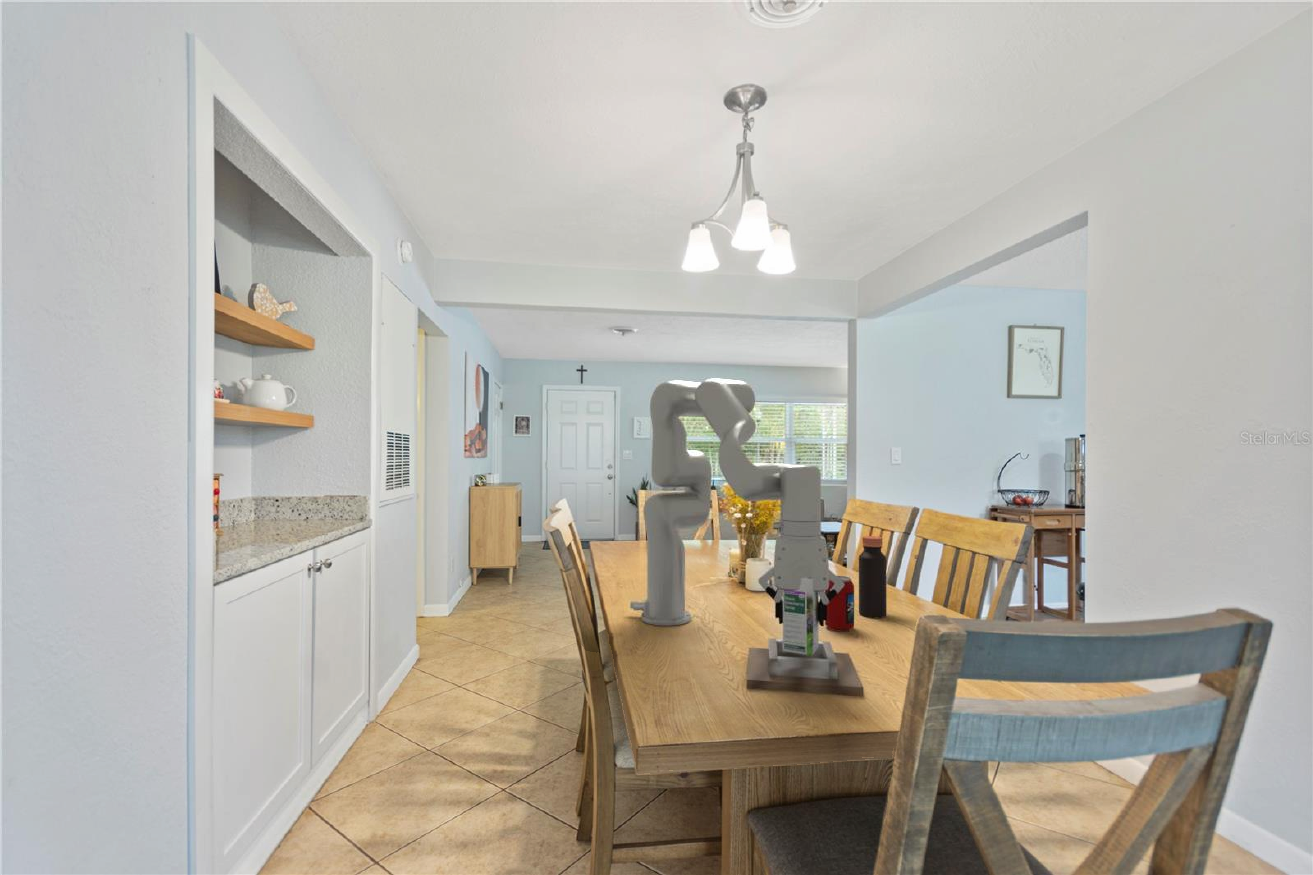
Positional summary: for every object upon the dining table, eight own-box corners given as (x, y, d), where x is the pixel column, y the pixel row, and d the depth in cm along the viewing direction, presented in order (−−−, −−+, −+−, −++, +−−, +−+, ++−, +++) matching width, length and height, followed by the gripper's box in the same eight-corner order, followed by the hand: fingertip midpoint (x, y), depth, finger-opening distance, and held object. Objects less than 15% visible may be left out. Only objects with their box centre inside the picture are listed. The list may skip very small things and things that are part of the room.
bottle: (889, 613, 159) (888, 536, 159) (883, 619, 153) (883, 540, 153) (862, 610, 162) (862, 534, 163) (855, 615, 157) (855, 537, 157)
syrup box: (781, 652, 115) (781, 574, 115) (790, 643, 120) (790, 569, 120) (812, 657, 112) (811, 578, 112) (819, 648, 117) (819, 572, 118)
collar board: (746, 688, 109) (746, 662, 109) (748, 654, 126) (748, 633, 127) (863, 696, 105) (863, 670, 105) (848, 660, 123) (848, 638, 123)
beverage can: (858, 632, 142) (857, 581, 142) (829, 632, 142) (828, 580, 143) (849, 624, 149) (849, 575, 149) (821, 624, 149) (821, 575, 149)
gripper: (754, 530, 114) (754, 626, 114) (850, 533, 111) (851, 631, 111) (754, 525, 122) (754, 615, 121) (845, 528, 119) (845, 619, 118)
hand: (800, 622), depth 116 cm, fingers closed on syrup box, 6 cm apart
